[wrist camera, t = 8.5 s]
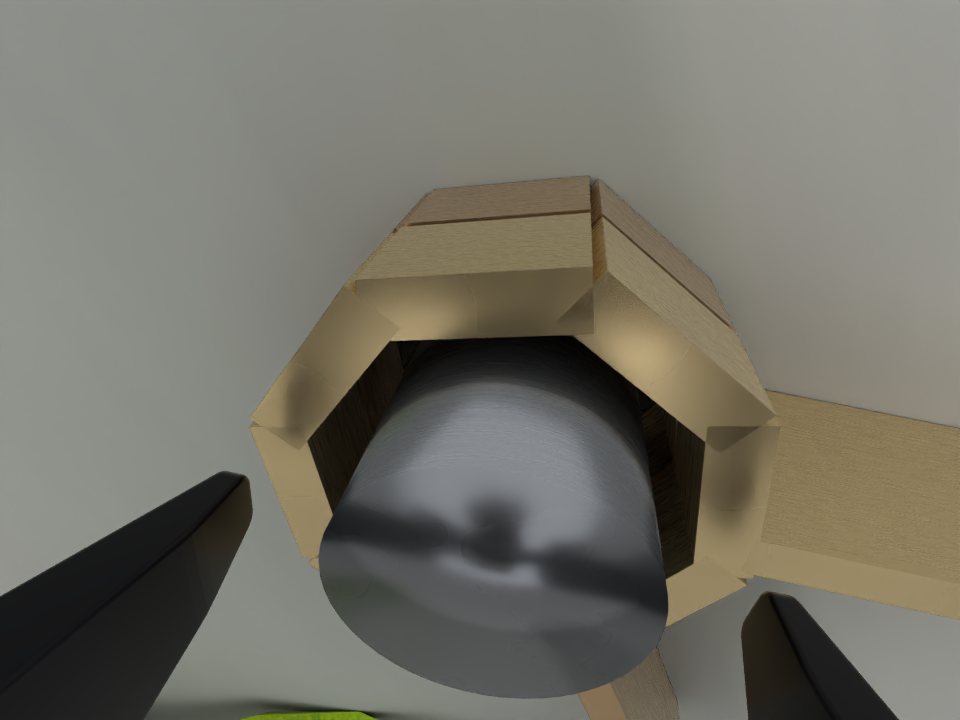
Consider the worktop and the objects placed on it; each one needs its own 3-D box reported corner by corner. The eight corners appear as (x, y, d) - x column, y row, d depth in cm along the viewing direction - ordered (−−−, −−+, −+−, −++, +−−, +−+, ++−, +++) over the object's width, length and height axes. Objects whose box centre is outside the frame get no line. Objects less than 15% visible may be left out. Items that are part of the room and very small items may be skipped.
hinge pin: (676, 349, 13) (751, 616, 7) (536, 462, 16) (509, 729, 10) (514, 213, 12) (449, 396, 6) (391, 357, 15) (262, 586, 9)
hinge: (1194, 483, 13) (1492, 709, 9) (662, 706, 21) (683, 882, 17) (643, -105, 9) (695, -214, 5) (247, 439, 17) (136, 578, 13)
